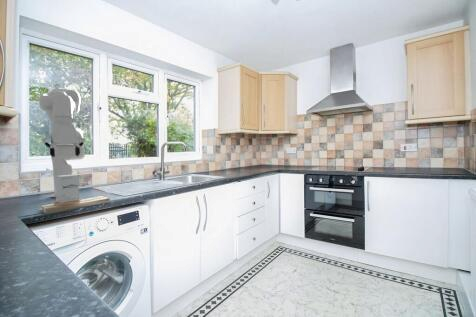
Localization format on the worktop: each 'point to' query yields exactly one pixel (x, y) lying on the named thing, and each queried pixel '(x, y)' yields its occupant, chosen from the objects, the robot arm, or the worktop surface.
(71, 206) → the board
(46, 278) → the worktop surface
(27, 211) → the worktop surface
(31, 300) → the worktop surface
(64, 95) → the robot arm
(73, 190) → the supplement box
